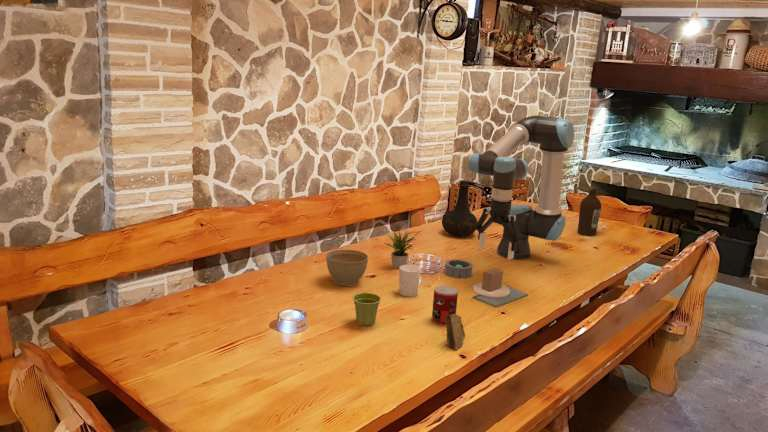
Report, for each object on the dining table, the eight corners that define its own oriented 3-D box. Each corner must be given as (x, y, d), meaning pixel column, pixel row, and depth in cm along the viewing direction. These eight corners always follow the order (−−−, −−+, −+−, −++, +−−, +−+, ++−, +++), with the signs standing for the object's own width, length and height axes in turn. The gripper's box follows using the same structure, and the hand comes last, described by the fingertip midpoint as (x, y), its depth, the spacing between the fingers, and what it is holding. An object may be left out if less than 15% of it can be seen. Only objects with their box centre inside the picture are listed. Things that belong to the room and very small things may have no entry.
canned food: (430, 314, 215) (432, 285, 212) (452, 315, 216) (455, 285, 213) (433, 324, 207) (436, 293, 205) (457, 324, 208) (460, 294, 205)
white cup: (416, 298, 228) (418, 272, 226) (395, 295, 230) (397, 270, 227) (420, 291, 236) (422, 266, 233) (399, 288, 237) (401, 263, 235)
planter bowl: (372, 279, 245) (374, 252, 242) (357, 292, 230) (359, 265, 228) (335, 272, 250) (336, 246, 247) (318, 285, 235) (319, 258, 233)
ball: (457, 271, 257) (458, 262, 256) (464, 273, 255) (465, 265, 254) (452, 272, 255) (452, 264, 254) (458, 275, 252) (459, 266, 251)
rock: (455, 324, 203) (433, 326, 197) (471, 310, 198) (448, 312, 192) (470, 353, 198) (447, 357, 192) (486, 339, 193) (463, 343, 186)
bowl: (456, 269, 263) (457, 257, 261) (477, 276, 255) (478, 265, 254) (439, 274, 255) (440, 262, 254) (459, 282, 248) (460, 270, 246)
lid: (487, 282, 248) (489, 262, 246) (516, 293, 238) (519, 272, 236) (465, 289, 238) (467, 269, 236) (494, 301, 229) (497, 280, 227)
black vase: (441, 228, 323) (446, 175, 316) (476, 231, 321) (481, 178, 313) (439, 238, 306) (444, 182, 298) (476, 241, 303) (482, 185, 296)
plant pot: (346, 324, 203) (347, 300, 201) (358, 314, 212) (359, 290, 210) (373, 330, 200) (374, 305, 198) (383, 319, 209) (385, 295, 206)
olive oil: (572, 232, 329) (578, 186, 323) (582, 229, 337) (589, 184, 330) (590, 237, 322) (597, 190, 316) (600, 234, 329) (607, 188, 323)
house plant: (413, 276, 250) (416, 238, 246) (379, 272, 253) (382, 234, 249) (418, 265, 264) (421, 228, 260) (386, 261, 266) (389, 225, 262)
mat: (486, 279, 252) (486, 278, 252) (527, 295, 238) (528, 293, 238) (454, 290, 239) (454, 288, 239) (496, 307, 225) (496, 305, 225)
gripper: (468, 193, 235) (463, 246, 241) (523, 208, 218) (517, 265, 223) (481, 191, 240) (476, 243, 246) (535, 205, 223) (529, 260, 228)
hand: (495, 253), depth 235 cm, fingers open, 13 cm apart
